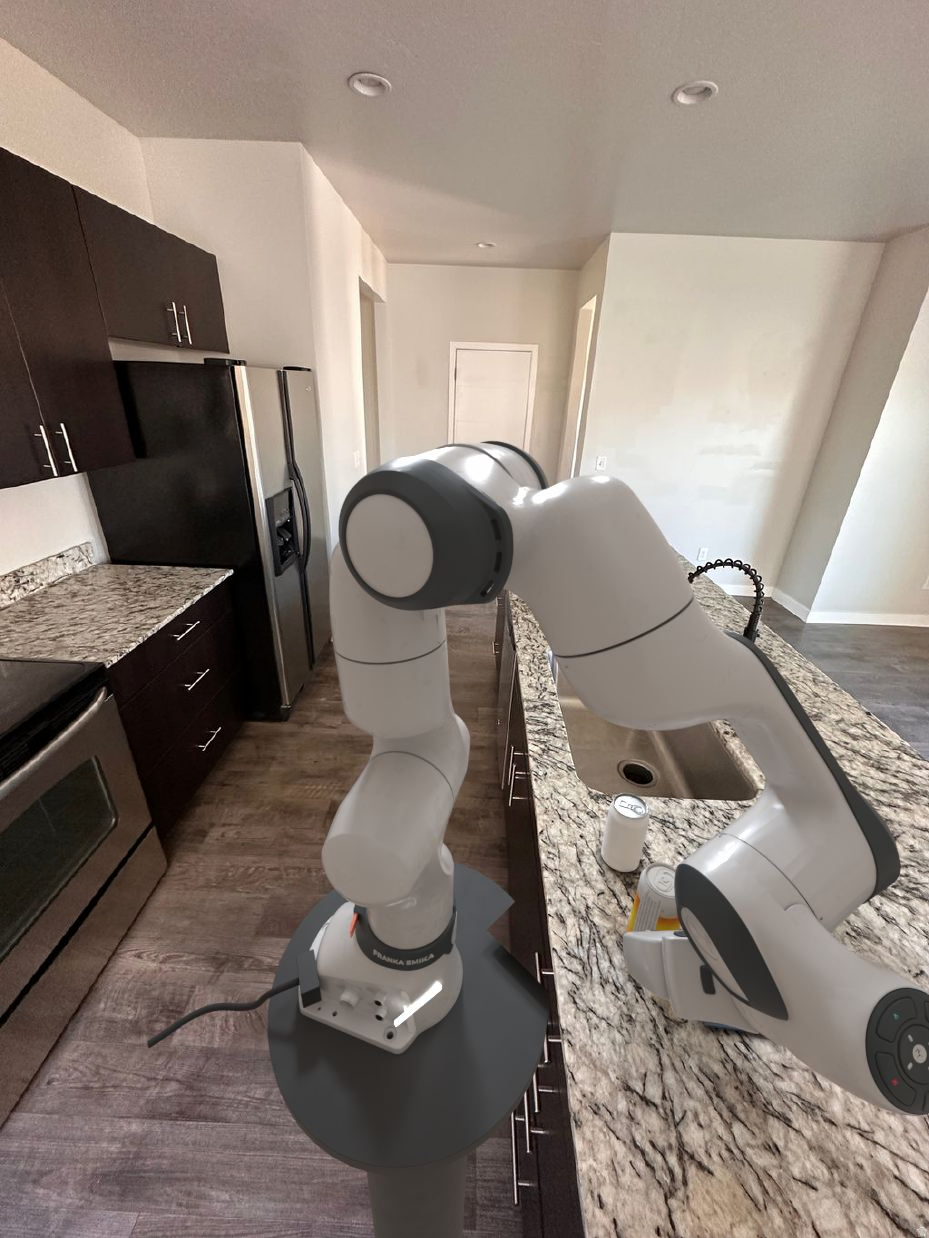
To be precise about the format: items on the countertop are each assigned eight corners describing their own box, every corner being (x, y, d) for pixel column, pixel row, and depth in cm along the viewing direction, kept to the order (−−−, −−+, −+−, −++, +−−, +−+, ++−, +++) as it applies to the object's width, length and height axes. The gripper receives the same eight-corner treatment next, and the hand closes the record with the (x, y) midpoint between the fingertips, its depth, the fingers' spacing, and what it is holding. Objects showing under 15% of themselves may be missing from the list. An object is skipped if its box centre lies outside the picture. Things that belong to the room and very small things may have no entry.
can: (633, 880, 81) (646, 826, 76) (595, 862, 84) (605, 809, 79) (642, 852, 86) (655, 800, 81) (606, 836, 89) (616, 785, 84)
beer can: (675, 952, 70) (698, 880, 64) (656, 984, 66) (678, 910, 60) (636, 922, 74) (654, 852, 68) (615, 951, 70) (633, 878, 64)
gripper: (857, 929, 47) (766, 903, 60) (651, 937, 46) (603, 908, 59) (878, 1009, 45) (779, 964, 58) (662, 1019, 43) (610, 971, 56)
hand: (689, 936), depth 58 cm, fingers open, 8 cm apart
